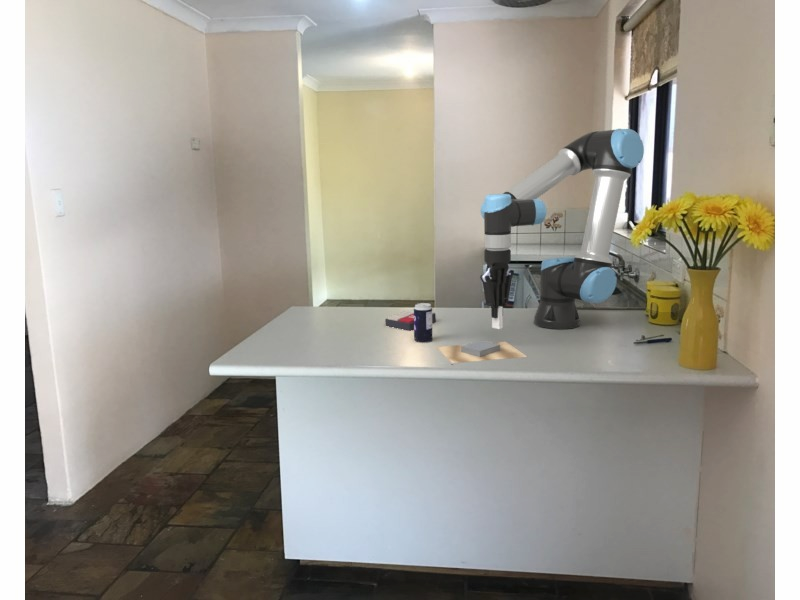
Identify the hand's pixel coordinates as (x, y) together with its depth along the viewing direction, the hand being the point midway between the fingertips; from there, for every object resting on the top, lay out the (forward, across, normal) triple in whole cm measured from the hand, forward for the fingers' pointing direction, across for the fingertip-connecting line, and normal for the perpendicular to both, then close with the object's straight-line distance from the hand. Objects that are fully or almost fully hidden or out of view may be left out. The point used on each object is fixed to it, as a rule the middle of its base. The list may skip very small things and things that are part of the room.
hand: (497, 327), depth 174 cm
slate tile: (+5, +3, 0) cm, 6 cm away
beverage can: (+6, +11, -20) cm, 24 cm away
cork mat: (+6, +8, 0) cm, 10 cm away
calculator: (+7, -2, -40) cm, 41 cm away
